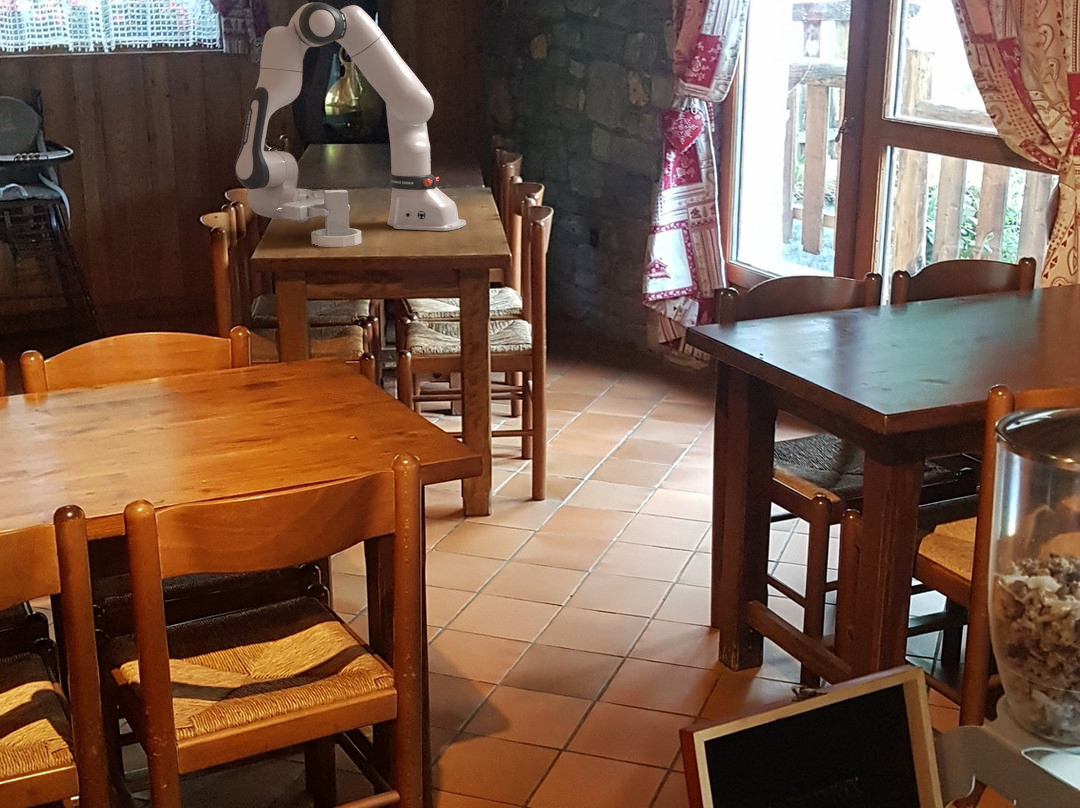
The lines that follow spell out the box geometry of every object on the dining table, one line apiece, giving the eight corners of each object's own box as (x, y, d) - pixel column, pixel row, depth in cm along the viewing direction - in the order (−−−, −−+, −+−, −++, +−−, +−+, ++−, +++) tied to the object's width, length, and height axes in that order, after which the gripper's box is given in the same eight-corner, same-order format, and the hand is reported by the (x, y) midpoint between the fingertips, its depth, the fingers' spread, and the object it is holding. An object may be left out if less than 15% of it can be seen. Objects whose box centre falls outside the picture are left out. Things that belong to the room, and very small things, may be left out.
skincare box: (347, 234, 329) (346, 189, 326) (350, 237, 325) (349, 191, 321) (324, 235, 327) (323, 189, 324) (326, 238, 323) (325, 191, 320)
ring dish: (370, 239, 331) (370, 230, 330) (345, 248, 319) (345, 238, 318) (328, 235, 335) (328, 226, 334) (302, 244, 324) (301, 234, 323)
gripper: (270, 198, 321) (310, 204, 315) (323, 188, 338) (362, 193, 331) (271, 222, 324) (311, 228, 317) (324, 211, 340) (363, 216, 333)
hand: (337, 210), depth 324 cm, fingers closed on skincare box, 7 cm apart
